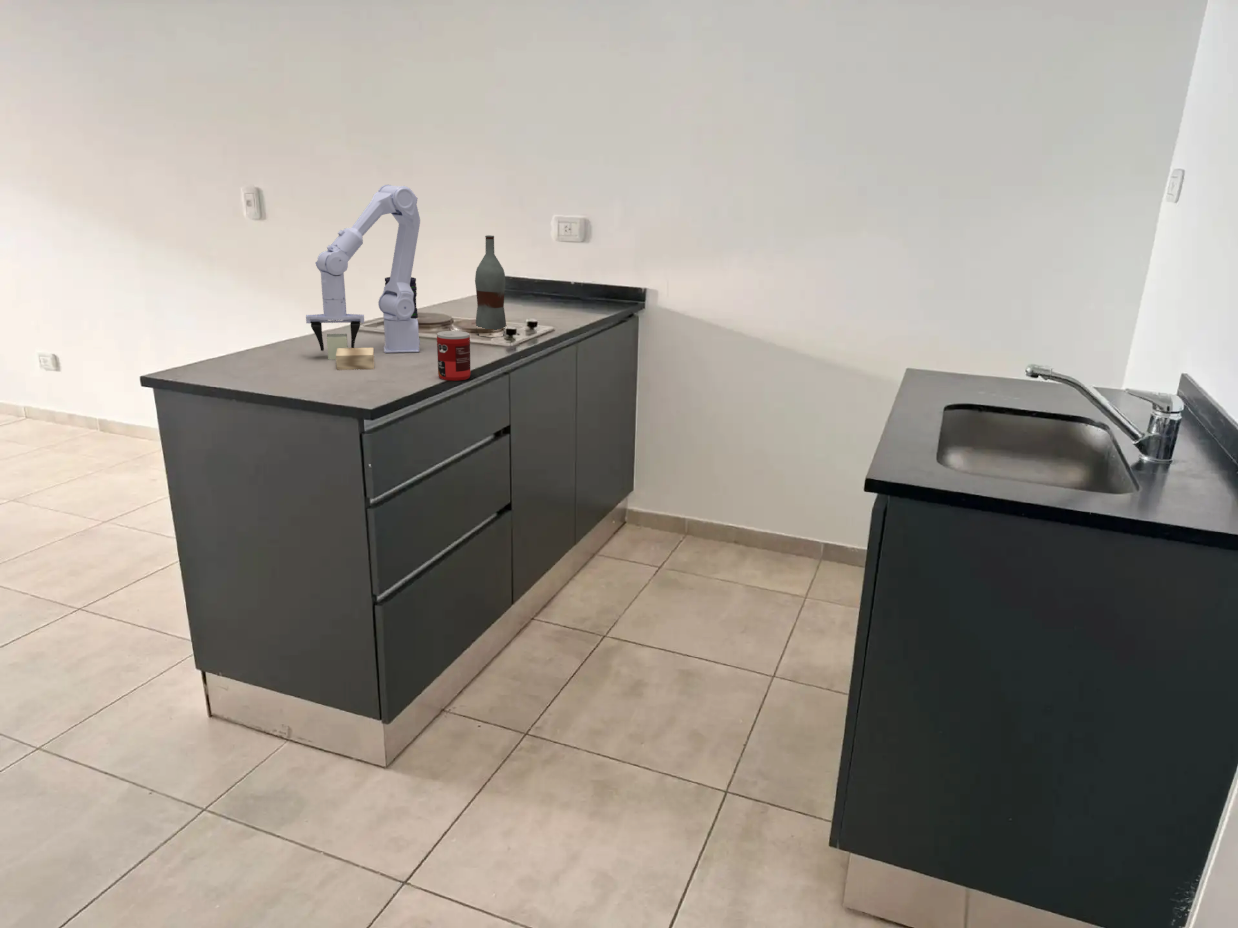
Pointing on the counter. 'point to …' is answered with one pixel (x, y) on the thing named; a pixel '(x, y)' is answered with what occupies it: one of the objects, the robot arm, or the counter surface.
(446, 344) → the canned food
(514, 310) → the counter surface
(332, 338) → the sage block
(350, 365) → the maple slab
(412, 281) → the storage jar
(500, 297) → the bottle
